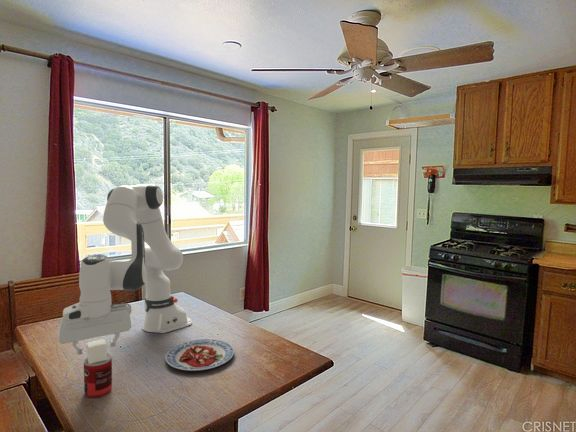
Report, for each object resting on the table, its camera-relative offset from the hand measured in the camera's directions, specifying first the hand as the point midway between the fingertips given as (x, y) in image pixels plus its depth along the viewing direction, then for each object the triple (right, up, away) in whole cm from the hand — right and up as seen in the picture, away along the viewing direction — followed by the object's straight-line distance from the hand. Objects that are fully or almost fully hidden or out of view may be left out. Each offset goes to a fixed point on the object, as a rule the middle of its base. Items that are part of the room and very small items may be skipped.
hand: (96, 349), depth 110 cm
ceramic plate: (+27, -13, +25) cm, 39 cm away
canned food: (0, -14, +1) cm, 14 cm away
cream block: (0, -3, 0) cm, 3 cm away
